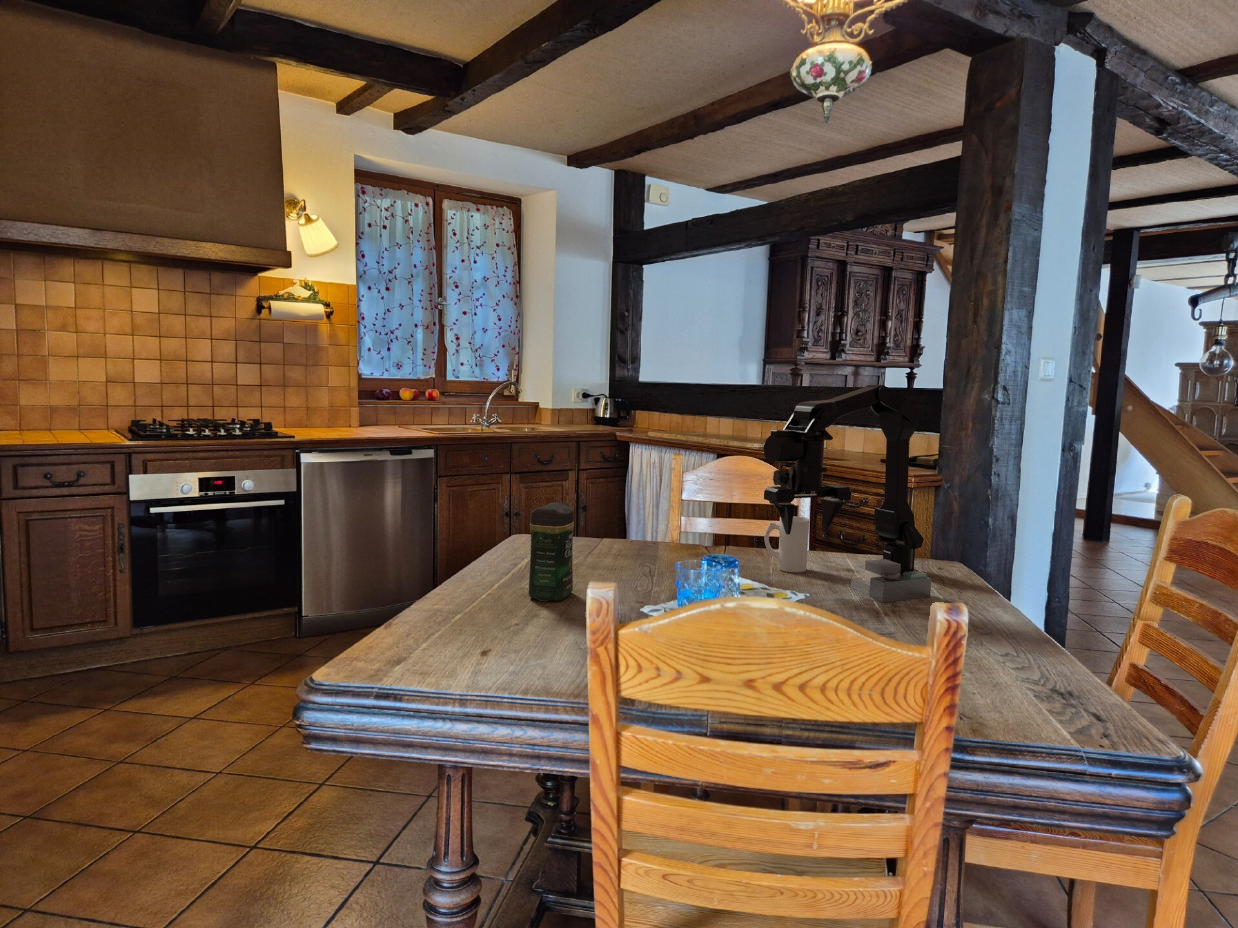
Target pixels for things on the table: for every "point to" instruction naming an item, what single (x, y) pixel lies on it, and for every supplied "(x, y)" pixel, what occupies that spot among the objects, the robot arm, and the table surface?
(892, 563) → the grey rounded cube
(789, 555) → the mug
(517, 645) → the table surface
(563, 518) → the coffee jar
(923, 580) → the knobbed block assembly
